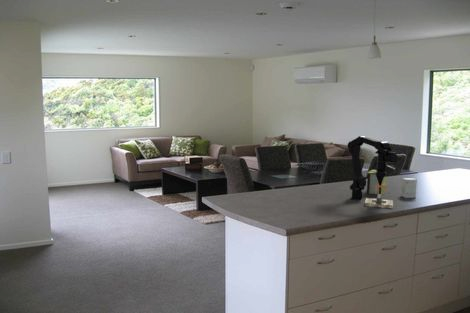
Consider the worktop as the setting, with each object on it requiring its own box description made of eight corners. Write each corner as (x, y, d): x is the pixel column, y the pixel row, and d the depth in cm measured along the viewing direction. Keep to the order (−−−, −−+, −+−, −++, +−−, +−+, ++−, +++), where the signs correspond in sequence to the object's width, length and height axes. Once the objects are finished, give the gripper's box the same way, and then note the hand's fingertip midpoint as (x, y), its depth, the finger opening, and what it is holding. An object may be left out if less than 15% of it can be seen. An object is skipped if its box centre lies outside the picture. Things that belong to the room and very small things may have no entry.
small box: (411, 195, 349) (413, 177, 348) (415, 197, 343) (417, 179, 341) (400, 195, 348) (401, 177, 347) (404, 197, 342) (405, 179, 340)
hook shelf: (364, 205, 316) (365, 197, 315) (365, 200, 330) (366, 192, 329) (392, 208, 311) (393, 199, 310) (392, 203, 325) (393, 195, 324)
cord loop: (374, 192, 319) (375, 178, 317) (374, 191, 322) (375, 177, 320) (385, 193, 317) (386, 179, 316) (385, 192, 320) (386, 178, 318)
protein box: (385, 191, 362) (386, 170, 360) (381, 195, 349) (382, 173, 347) (370, 190, 367) (372, 169, 365) (366, 193, 354) (367, 172, 351)
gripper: (395, 164, 305) (393, 188, 307) (394, 160, 323) (393, 183, 325) (376, 162, 308) (375, 187, 311) (377, 158, 326) (375, 182, 328)
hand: (380, 185), depth 318 cm, fingers closed on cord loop, 3 cm apart
